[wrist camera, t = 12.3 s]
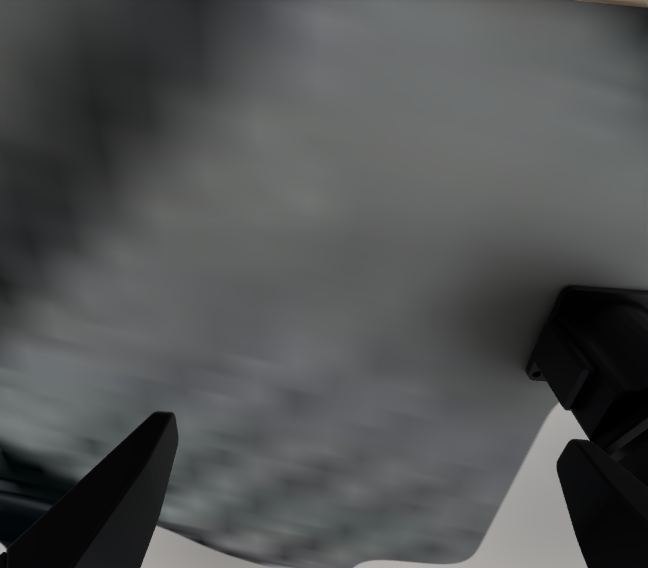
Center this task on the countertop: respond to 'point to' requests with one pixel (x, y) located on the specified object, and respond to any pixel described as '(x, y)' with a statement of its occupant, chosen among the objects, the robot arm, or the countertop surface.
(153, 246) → the countertop surface
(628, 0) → the birch block
